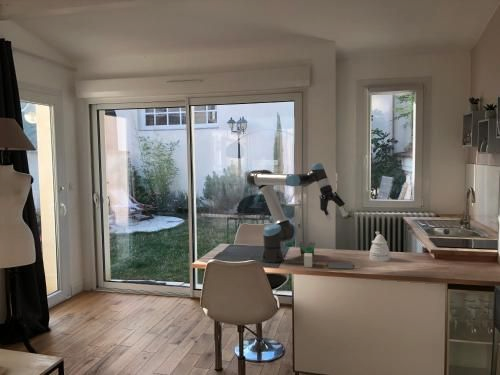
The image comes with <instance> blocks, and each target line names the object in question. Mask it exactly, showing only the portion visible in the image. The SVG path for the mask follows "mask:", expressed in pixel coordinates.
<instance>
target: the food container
mask: <svg viewBox="0 0 500 375" xmlns="http://www.w3.org/2000/svg"><path fill="white" fill-rule="evenodd" d="M298 245H299V250H300V256H301V257H303V258H304V253H312V257H314V255H315V246H316V241H315V240H313V241H305V242H301V241H299V242H298Z"/></svg>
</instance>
